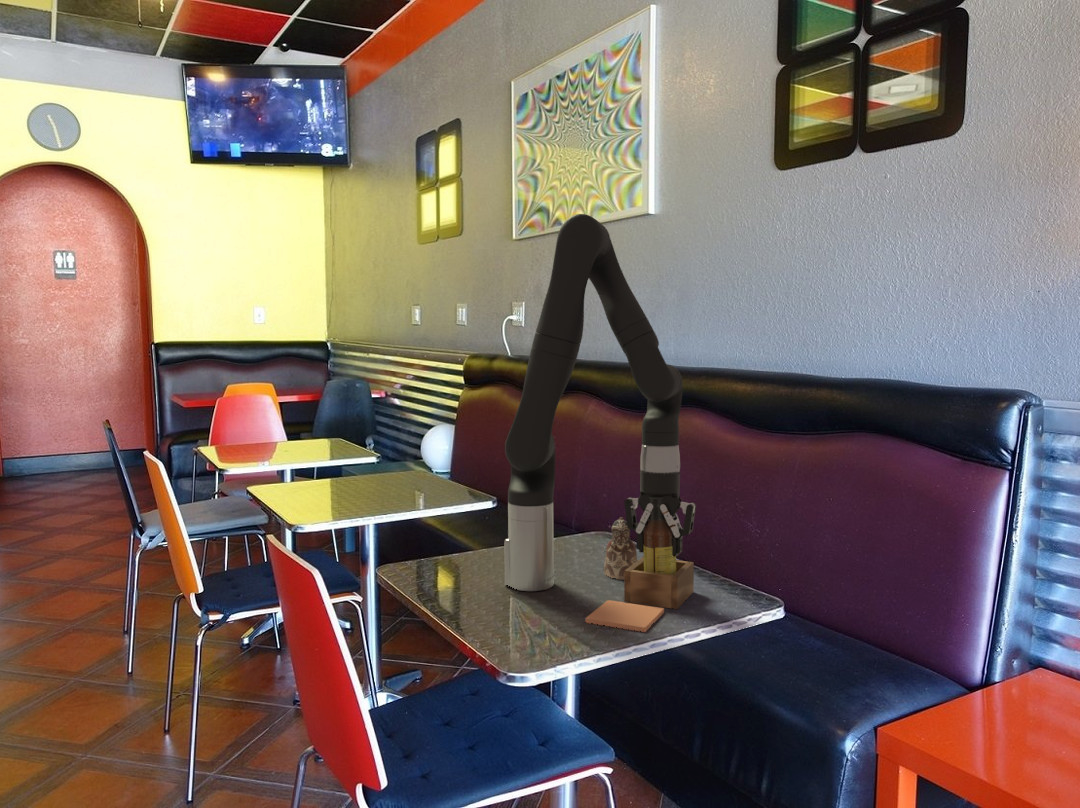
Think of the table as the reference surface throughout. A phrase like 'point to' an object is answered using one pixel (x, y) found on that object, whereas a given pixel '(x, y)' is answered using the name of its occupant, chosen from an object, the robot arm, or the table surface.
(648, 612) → the terracotta mat
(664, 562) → the sauce bottle
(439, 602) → the table surface
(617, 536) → the figurine
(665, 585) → the square holder
